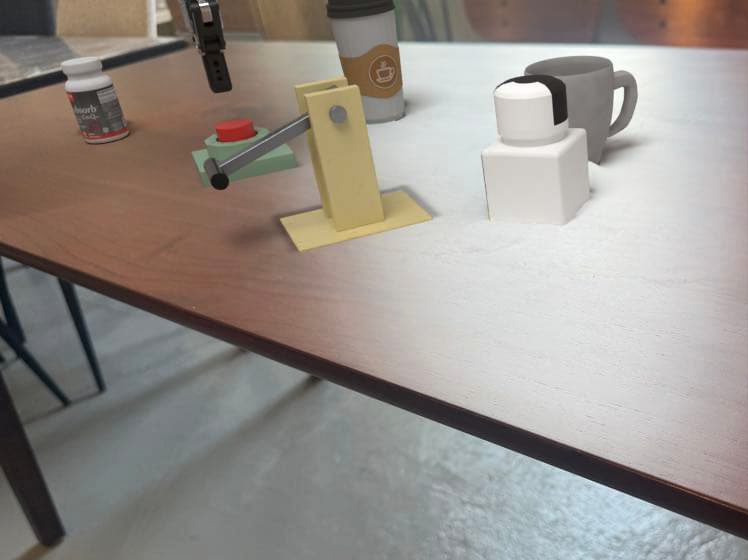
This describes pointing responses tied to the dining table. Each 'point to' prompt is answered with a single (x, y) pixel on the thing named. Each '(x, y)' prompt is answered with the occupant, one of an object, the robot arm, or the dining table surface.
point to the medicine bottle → (535, 155)
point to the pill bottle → (94, 101)
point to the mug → (591, 96)
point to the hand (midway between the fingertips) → (222, 90)
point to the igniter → (264, 165)
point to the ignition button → (235, 130)
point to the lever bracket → (344, 173)
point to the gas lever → (254, 151)
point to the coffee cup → (370, 55)
